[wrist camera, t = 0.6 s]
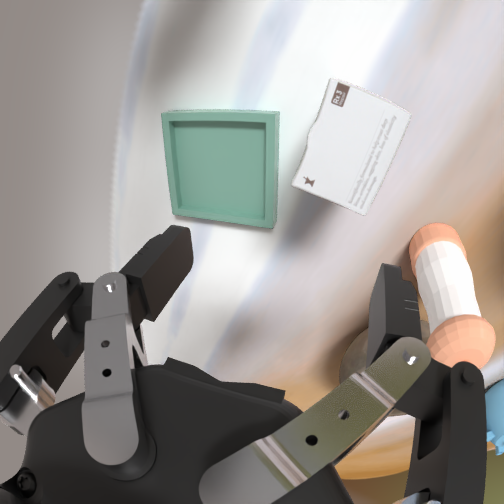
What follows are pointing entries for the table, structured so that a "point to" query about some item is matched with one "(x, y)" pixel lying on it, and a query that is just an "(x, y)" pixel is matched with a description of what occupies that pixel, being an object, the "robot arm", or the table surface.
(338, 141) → the skincare box
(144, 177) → the table surface
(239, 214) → the tray
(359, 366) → the bowl
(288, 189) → the table surface
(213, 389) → the robot arm
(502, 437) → the teapot
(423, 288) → the salt shaker
